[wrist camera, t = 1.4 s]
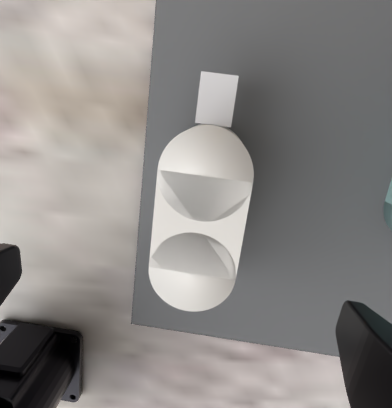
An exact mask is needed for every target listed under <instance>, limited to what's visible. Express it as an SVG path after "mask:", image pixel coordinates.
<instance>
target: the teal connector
mask: <svg viewBox="0 0 392 408" xmlns="http://www.w3.org/2000/svg"><path fill="white" fill-rule="evenodd" d="M383 213H384V219H385V222H386V224H387V226H388V227H389V228H390V230H391V231H392V179H391V182H390V186H389V189H388V192H387V195H386V199H385V202H384V208H383Z"/></svg>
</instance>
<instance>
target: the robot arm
mask: <svg viewBox="0 0 392 408" xmlns="http://www.w3.org/2000/svg"><path fill="white" fill-rule="evenodd" d="M21 274H22V267H21V257H20V249H19V248H18V247H17V246H16V245H11V244H5V243H2V244H0V306H1V304H2V303H3V302H4V300H5V299H6V297H7V296H8V295H9V293H10V292H11V290H12V289H13V288H14V286H15V285H16V283H17V282H18V281H19V279H20V277H21ZM4 326H5V327H6V328H5V327H4ZM335 333H336V340H337V345H338V350H339V356H340V361H341V367H342V372H343V377H344V383H345V387H346V392H347V396H348V399H349V403H350V406H351V408H392V324H391V323H390V322H388V321H387V320H386V319H384V318H383V317H381V316H380V315H379V314H377V313H376V312H375V311H373V310H372V309H370V308H369V307H368V306H366V305H365V304H364V303H361V302H356V301H350V300H347V301H345V302H344V303H343V305H342V308H341V312H340V315H339V318H338V321H337V324H336V330H335ZM73 337H74V338H76V339H74V338H73ZM81 374H82V335H81V333H79V332H77V331H73V330H66V329H60V328H54V327H48V326H42V325H35V324H29V323H23V322H17V321H11V320H2V321H1V322H0V408H56V407H57V405H58V404H59V402H60V400H64V401H70V402H77V401H78V400H79V398H80V396H81Z"/></svg>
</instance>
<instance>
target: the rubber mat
mask: <svg viewBox="0 0 392 408" xmlns="http://www.w3.org/2000/svg"><path fill="white" fill-rule="evenodd" d="M201 71H204V72H212V73H220V74H228V75H236V76H239V78H238V84H237V91H236V97H235V104H234V111H233V117H232V124H231V127H227V128H229V129H230V130H232V131H233V132H234V133H235V134H236V135H237V136H238V137H239V139H240V140H241V142H242V143H243V145H244V146H245V148H246V149H247V151H248V153H249V155H250V157H251V160H252V163H253V169H254V179H253V186H252V192H251V197H250V203H249V208H248V214H247V220H246V225H245V231H244V236H243V242H242V247H241V253H240V258H239V264H238V270H237V275H236V281H235V284H234V287H233V289H232V291H231V293H230V295H229V296H228V297H227V298H226V299H225V300H224V301H223V302H222V303H220V304H219V305H217V306H216V307H214V308H211V309H209V310H205V311H198V312H191V311H184V310H180V309H177V308H175V307H173V306H171V305H169V304H167V303H166V302H165V301H163V300H162V299H161V298H160V297H159V296H158V294H157V293H156V292H155V290H154V289H153V287H152V284H151V282H150V278H149V258H150V247H151V236H152V225H153V214H154V203H155V192H156V181H157V170H158V163H159V160H160V157H161V155H162V152H163V151H164V149H165V147H166V146H167V145H168V143H169V142H170V141H171V140H172V139H173V138H174V137H176V136H177V135H179V134H180V133H182V132H184V131H186V130H188V129H190V128H192V127H194V126H196V125H199V124H201V123H195V118H196V110H197V102H198V93H199V85H200V77H201ZM391 179H392V0H156V9H155V22H154V35H153V48H152V61H151V74H150V87H149V100H148V113H147V126H146V139H145V152H144V165H143V178H142V190H141V203H140V216H139V229H138V242H137V255H136V268H135V281H134V294H133V307H132V320H131V324H136V325H143V326H149V327H155V328H161V329H168V330H174V331H180V332H187V333H193V334H199V335H206V336H212V337H218V338H224V339H231V340H237V341H243V342H250V343H256V344H262V345H268V346H275V347H281V348H287V349H294V350H300V351H306V352H312V353H319V354H325V355H331V356H338V357H340V356H339V350H338V345H337V340H336V333H335V330H336V324H337V321H338V318H339V315H340V312H341V308H342V305H343V303H344V302H345V301H347V300H350V301H356V302H361V303H364V304H365V305H366V306H368V307H369V308H370V309H372V310H373V311H375V312H376V313H377V314H379V315H380V316H381V317H383V318H384V319H386V320H387V321H388V322H390V323H391V324H392V231H391V230H390V228H389V227H388V226H387V224H386V222H385V219H384V213H383V208H384V202H385V199H386V195H387V192H388V189H389V186H390V182H391Z"/></svg>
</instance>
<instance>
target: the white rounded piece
mask: <svg viewBox="0 0 392 408" xmlns="http://www.w3.org/2000/svg"><path fill="white" fill-rule="evenodd" d="M238 78H239V76H236V75H228V74H220V73H212V72H204V71H201V77H200V85H199V93H198V102H197V110H196V118H195V123H201V124H199V125H196V126H194V127H192V128H190V129H188V130H186V131H184V132H182V133H180V134H179V135H177V136H176V137H174V138H173V139H172V140H171V141H170V142H169V143H168V145H167V146H166V147H165V149H164V151H163V152H162V155H161V157H160V160H159V163H158V170H157V181H156V192H155V203H154V214H153V225H152V236H151V247H150V258H149V278H150V282H151V284H152V287H153V289H154V290H155V292H156V293H157V294H158V296H159V297H160V298H161V299H162V300H163V301H165V302H166V303H167V304H169V305H171V306H173V307H175V308H177V309H180V310H184V311H191V312H198V311H205V310H209V309H211V308H214V307H216V306H217V305H219V304H220V303H222V302H223V301H224V300H225V299H226V298H227V297H228V296H229V295H230V293H231V291H232V289H233V287H234V284H235V281H236V275H237V270H238V264H239V258H240V253H241V247H242V242H243V236H244V231H245V225H246V220H247V214H248V208H249V203H250V197H251V192H252V186H253V179H254V169H253V163H252V160H251V157H250V155H249V153H248V151H247V149H246V148H245V146H244V145H243V143H242V142H241V140H240V139H239V137H238V136H237V135H236V134H235V133H234V132H233V131H232V130H230V129H229V128H227V127H231V124H232V117H233V111H234V104H235V97H236V91H237V84H238Z"/></svg>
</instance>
